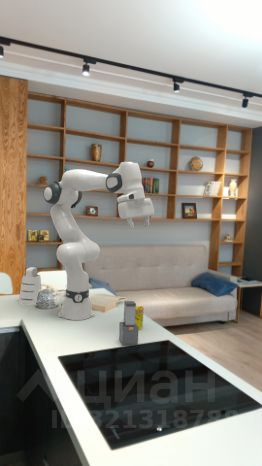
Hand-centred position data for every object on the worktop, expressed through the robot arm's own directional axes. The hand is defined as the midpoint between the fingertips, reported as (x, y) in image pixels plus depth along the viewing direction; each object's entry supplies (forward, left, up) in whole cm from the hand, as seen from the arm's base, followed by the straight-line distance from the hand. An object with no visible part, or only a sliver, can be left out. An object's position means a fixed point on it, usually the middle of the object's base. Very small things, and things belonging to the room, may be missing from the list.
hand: (140, 227), depth 158 cm
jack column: (+11, -6, -48) cm, 50 cm away
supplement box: (-7, +2, -50) cm, 50 cm away
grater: (-59, -48, -50) cm, 91 cm away
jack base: (+11, -6, -50) cm, 51 cm away
